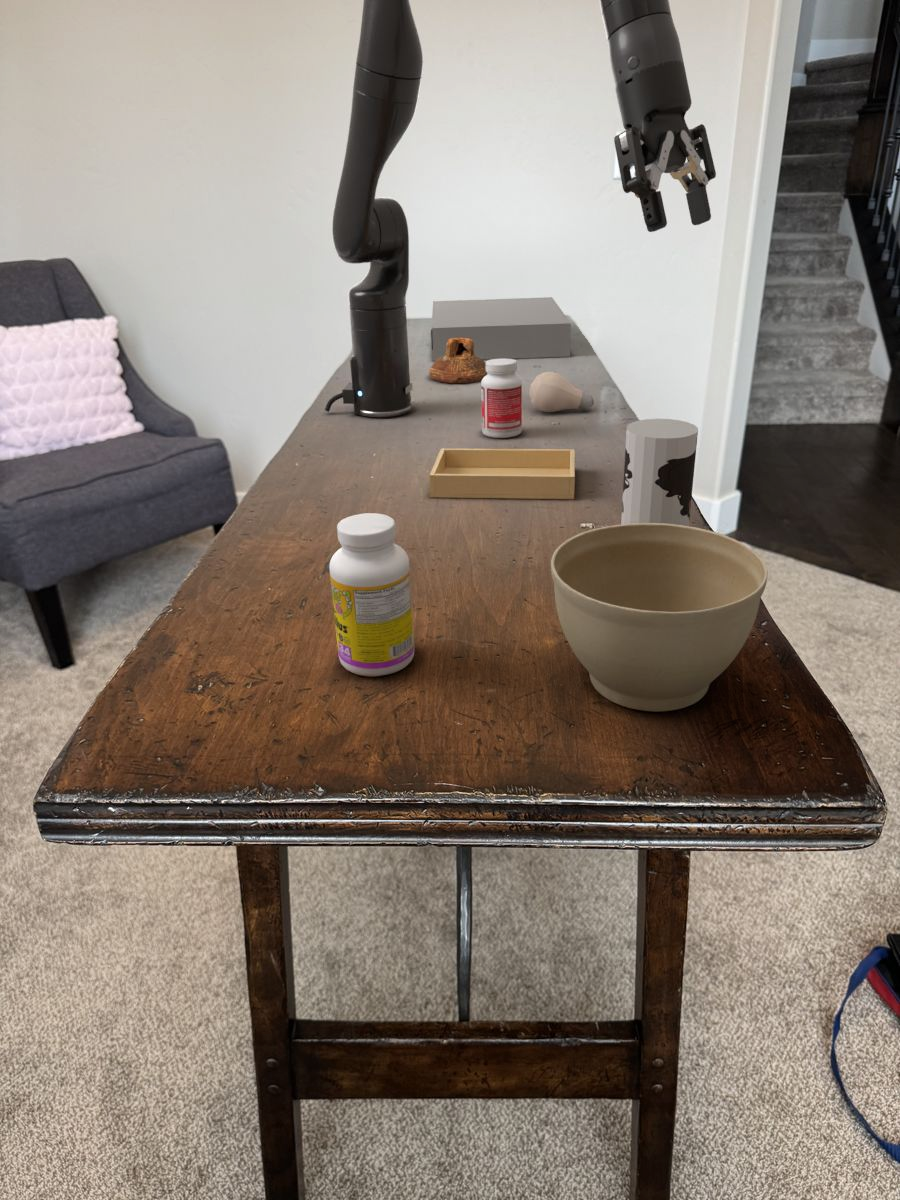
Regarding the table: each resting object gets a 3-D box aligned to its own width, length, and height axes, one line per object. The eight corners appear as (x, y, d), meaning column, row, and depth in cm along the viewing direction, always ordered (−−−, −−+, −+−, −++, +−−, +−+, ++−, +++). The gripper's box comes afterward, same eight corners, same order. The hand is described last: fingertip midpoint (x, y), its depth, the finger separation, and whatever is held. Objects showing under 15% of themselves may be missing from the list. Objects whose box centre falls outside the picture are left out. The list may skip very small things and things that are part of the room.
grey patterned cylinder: (698, 572, 91) (713, 429, 84) (649, 589, 88) (661, 442, 81) (652, 551, 96) (662, 414, 90) (604, 566, 93) (611, 426, 86)
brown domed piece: (493, 370, 177) (492, 332, 174) (484, 384, 166) (483, 345, 163) (435, 370, 179) (434, 333, 176) (423, 384, 168) (421, 345, 165)
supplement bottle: (340, 643, 80) (326, 510, 75) (413, 638, 81) (405, 505, 75) (337, 682, 74) (323, 541, 69) (416, 677, 75) (408, 536, 69)
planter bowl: (542, 635, 81) (544, 523, 76) (722, 633, 80) (736, 520, 75) (555, 741, 66) (559, 611, 61) (775, 739, 65) (797, 608, 61)
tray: (430, 497, 113) (429, 475, 112) (441, 469, 123) (440, 448, 122) (574, 499, 111) (574, 476, 110) (574, 470, 121) (574, 449, 120)
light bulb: (587, 430, 147) (524, 413, 146) (586, 412, 152) (524, 396, 151) (601, 394, 143) (535, 377, 142) (599, 377, 148) (535, 360, 147)
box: (570, 356, 186) (571, 322, 183) (432, 361, 186) (430, 326, 183) (551, 327, 217) (552, 297, 214) (433, 331, 217) (432, 301, 214)
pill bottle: (529, 434, 137) (530, 361, 132) (497, 441, 134) (497, 367, 129) (505, 425, 142) (505, 355, 137) (474, 432, 139) (472, 360, 134)
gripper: (660, 90, 104) (689, 232, 108) (581, 89, 96) (615, 243, 99) (714, 59, 98) (743, 210, 102) (635, 55, 90) (670, 219, 93)
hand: (680, 226), depth 100 cm, fingers open, 8 cm apart
